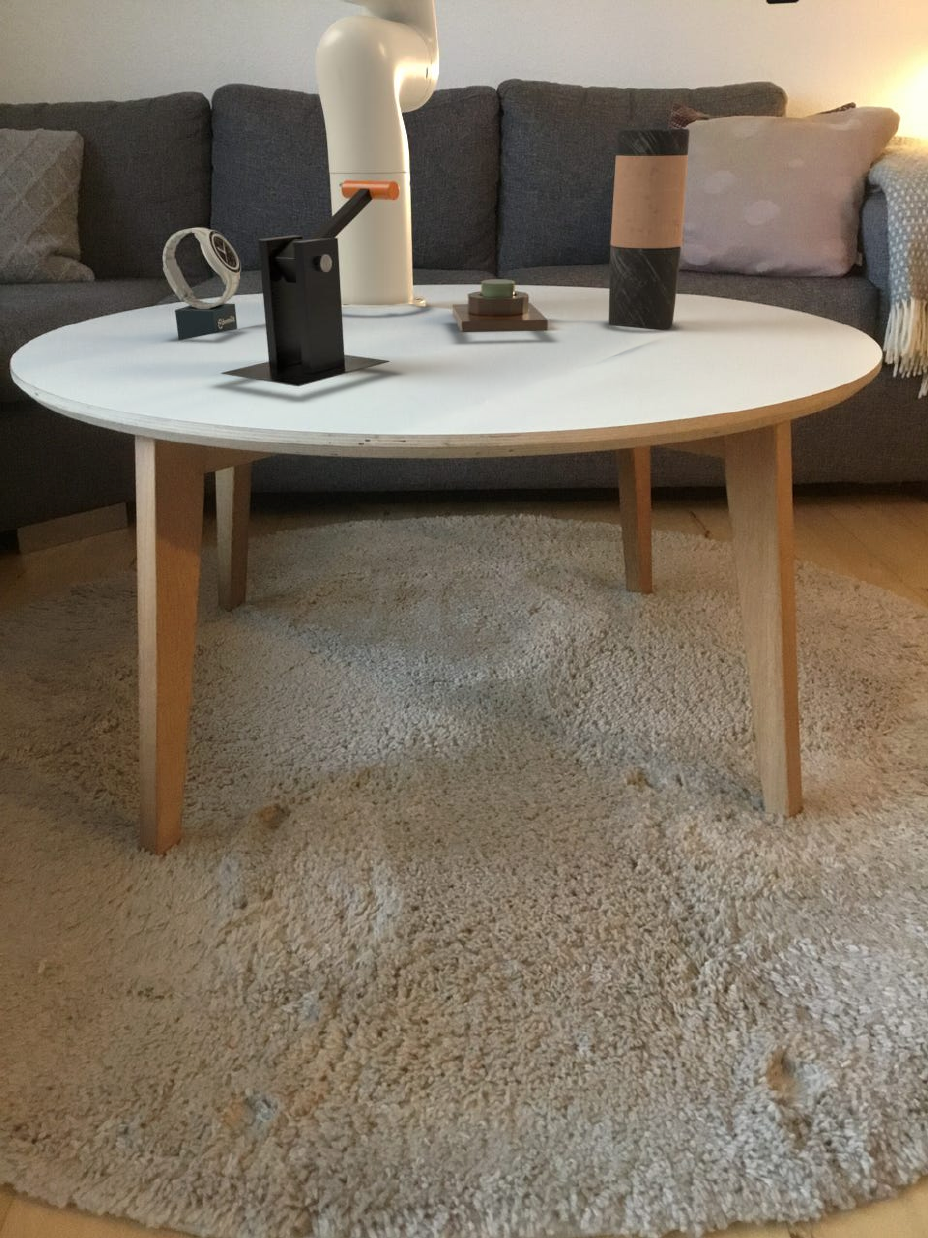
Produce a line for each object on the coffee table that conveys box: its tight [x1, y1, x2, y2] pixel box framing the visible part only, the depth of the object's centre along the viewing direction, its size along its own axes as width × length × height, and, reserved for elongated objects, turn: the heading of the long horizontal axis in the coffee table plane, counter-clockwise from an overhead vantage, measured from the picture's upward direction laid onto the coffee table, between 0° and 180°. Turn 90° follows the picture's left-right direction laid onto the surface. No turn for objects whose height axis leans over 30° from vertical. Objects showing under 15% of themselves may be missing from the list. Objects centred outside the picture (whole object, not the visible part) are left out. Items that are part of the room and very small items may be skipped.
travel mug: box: [608, 128, 691, 331], centre depth 109 cm, size 8×8×20 cm
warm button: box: [480, 278, 516, 297], centre depth 109 cm, size 4×4×2 cm
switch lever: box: [276, 180, 400, 283], centre depth 88 cm, size 13×6×2 cm, turn 146°
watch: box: [162, 227, 242, 341], centre depth 107 cm, size 6×8×11 cm
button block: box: [451, 290, 549, 333], centre depth 110 cm, size 12×9×4 cm
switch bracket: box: [220, 235, 390, 387], centre depth 87 cm, size 12×9×12 cm
